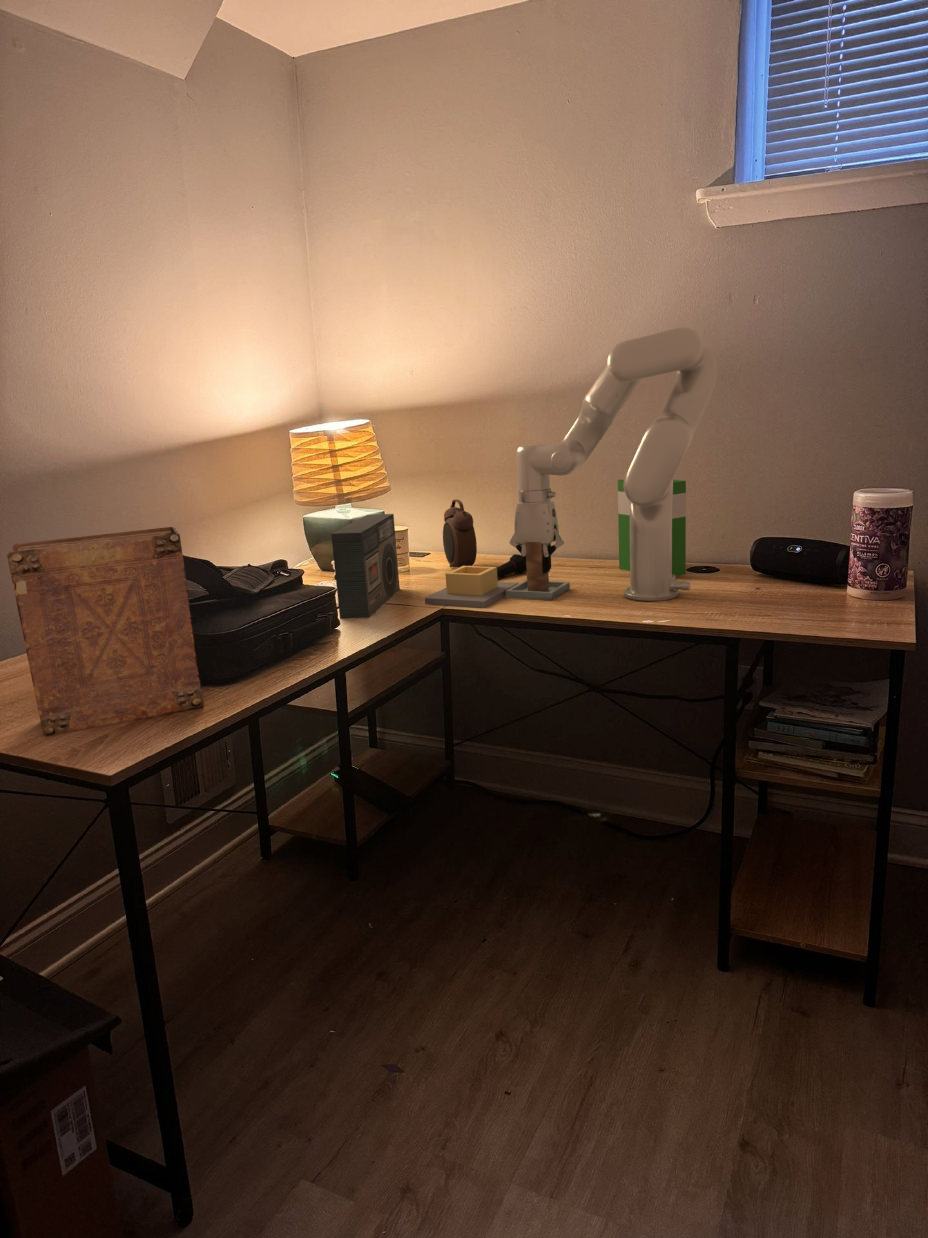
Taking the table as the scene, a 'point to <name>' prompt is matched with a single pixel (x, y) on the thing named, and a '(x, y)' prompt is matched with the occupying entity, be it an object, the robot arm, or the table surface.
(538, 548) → the rod
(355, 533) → the cassette player
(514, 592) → the tray
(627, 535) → the green white tall box
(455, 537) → the alarm clock
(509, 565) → the microphone
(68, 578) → the book
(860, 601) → the table surface
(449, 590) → the yellow socket holder
